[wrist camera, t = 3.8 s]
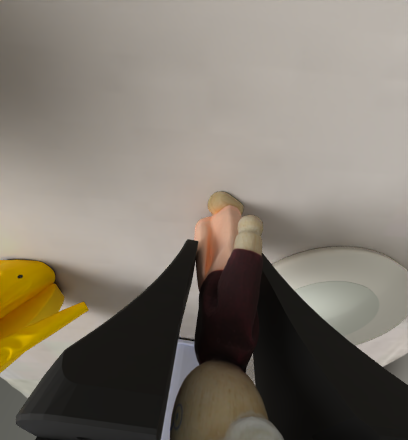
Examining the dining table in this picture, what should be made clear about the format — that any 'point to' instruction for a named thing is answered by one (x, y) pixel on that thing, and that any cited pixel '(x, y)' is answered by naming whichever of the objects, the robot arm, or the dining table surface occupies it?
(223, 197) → the grandmother figurine
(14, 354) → the yellow irregular piece
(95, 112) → the dining table surface
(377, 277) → the dish
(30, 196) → the dining table surface
